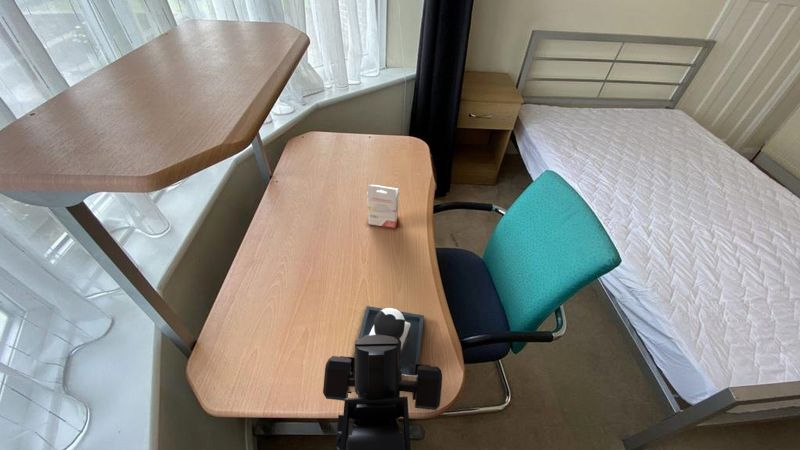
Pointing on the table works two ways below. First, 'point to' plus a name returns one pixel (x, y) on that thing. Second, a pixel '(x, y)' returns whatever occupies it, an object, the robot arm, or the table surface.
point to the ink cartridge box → (382, 205)
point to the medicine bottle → (392, 326)
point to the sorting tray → (414, 336)
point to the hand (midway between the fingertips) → (386, 361)
